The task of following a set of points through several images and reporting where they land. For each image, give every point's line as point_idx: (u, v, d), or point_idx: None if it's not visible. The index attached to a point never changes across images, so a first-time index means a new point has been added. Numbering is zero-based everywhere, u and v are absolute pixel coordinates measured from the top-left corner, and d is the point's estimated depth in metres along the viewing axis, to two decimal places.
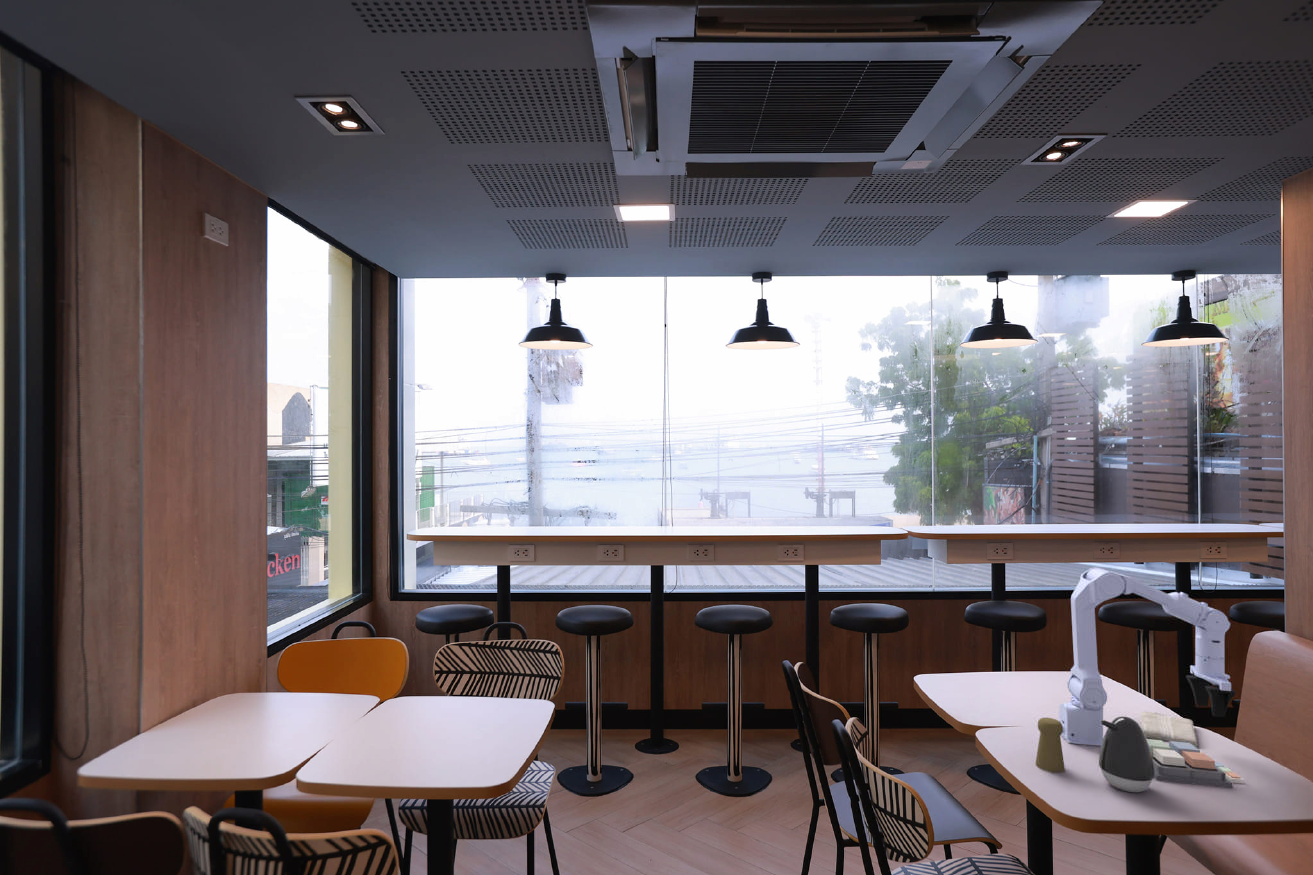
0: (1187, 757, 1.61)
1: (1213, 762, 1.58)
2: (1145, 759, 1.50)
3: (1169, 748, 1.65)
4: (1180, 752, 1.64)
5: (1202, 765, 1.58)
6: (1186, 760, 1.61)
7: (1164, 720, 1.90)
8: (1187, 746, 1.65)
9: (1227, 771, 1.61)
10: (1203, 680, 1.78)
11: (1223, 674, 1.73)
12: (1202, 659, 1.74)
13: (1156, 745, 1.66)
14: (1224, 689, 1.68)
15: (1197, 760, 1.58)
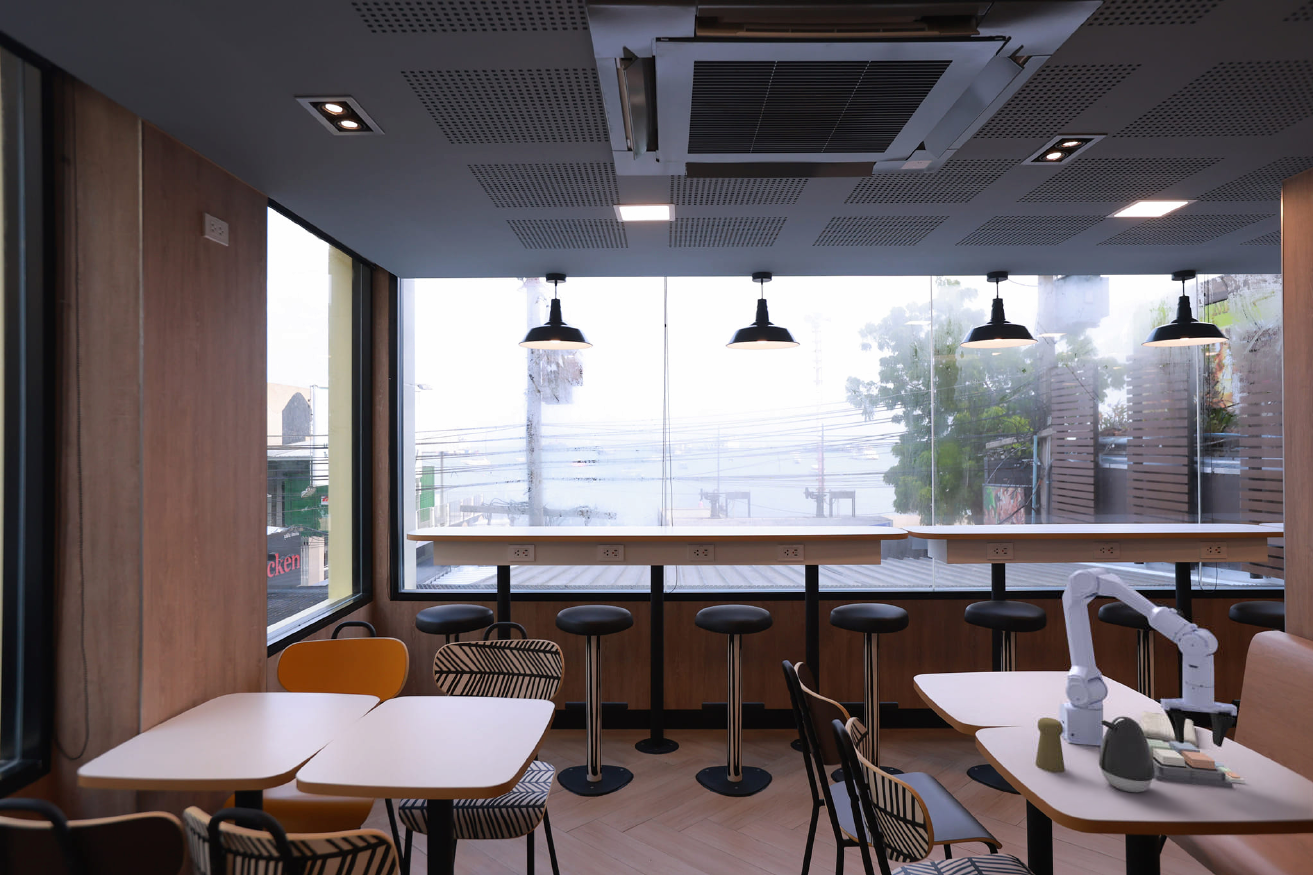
0: (1187, 757, 1.61)
1: (1213, 762, 1.58)
2: (1145, 759, 1.50)
3: (1169, 748, 1.65)
4: (1180, 752, 1.64)
5: (1202, 765, 1.58)
6: (1186, 760, 1.61)
7: (1164, 720, 1.90)
8: (1187, 746, 1.65)
9: (1227, 771, 1.61)
10: (1217, 716, 1.60)
11: (1193, 702, 1.59)
12: None
13: (1156, 745, 1.66)
14: (1162, 706, 1.63)
15: (1197, 760, 1.58)
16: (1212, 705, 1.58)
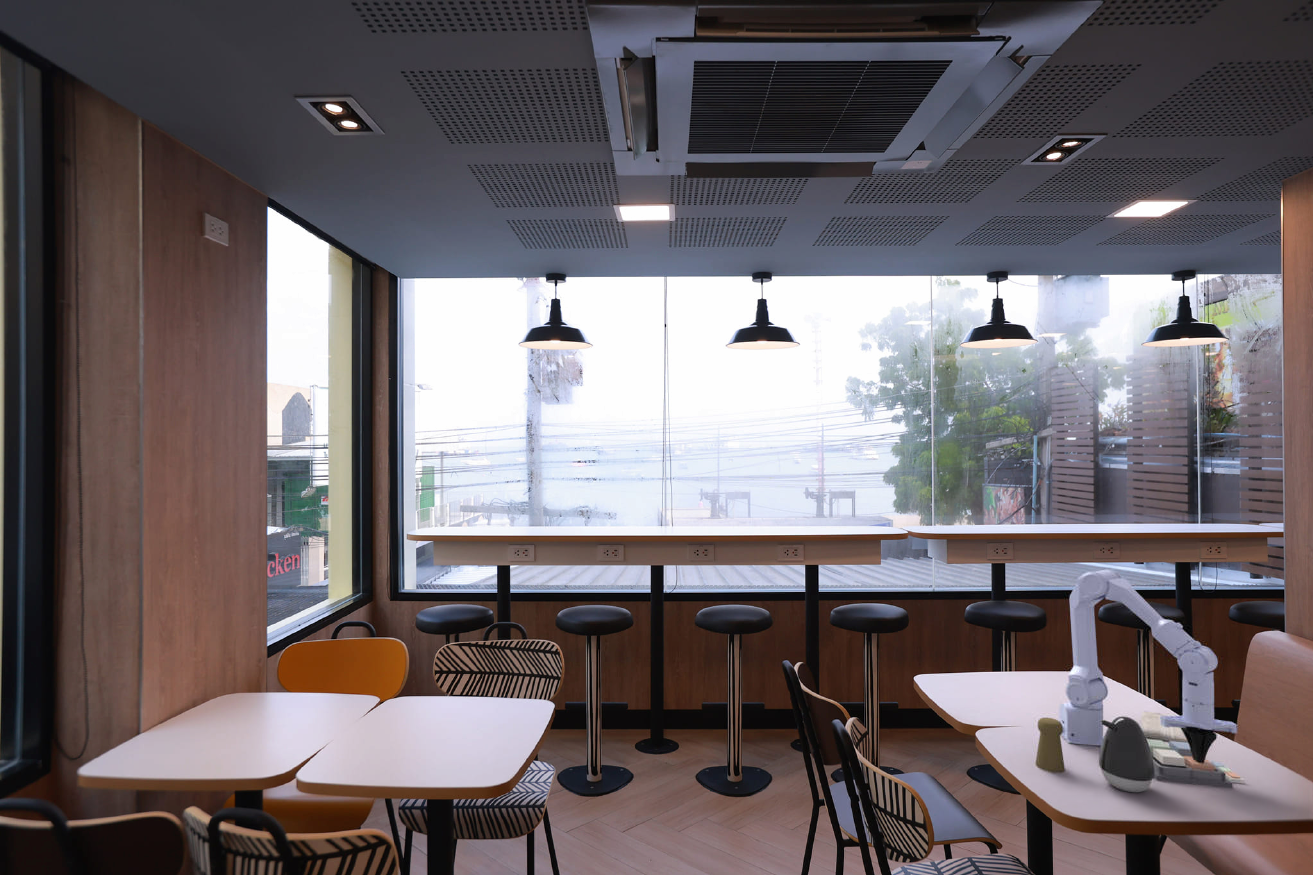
0: (1187, 761, 1.61)
1: (1213, 767, 1.58)
2: (1145, 759, 1.50)
3: (1169, 748, 1.65)
4: (1180, 752, 1.64)
5: None
6: None
7: None
8: (1187, 746, 1.65)
9: (1227, 771, 1.61)
10: None
11: (1193, 719, 1.59)
12: None
13: (1156, 745, 1.66)
14: (1161, 723, 1.62)
15: (1197, 764, 1.58)
16: (1212, 723, 1.58)
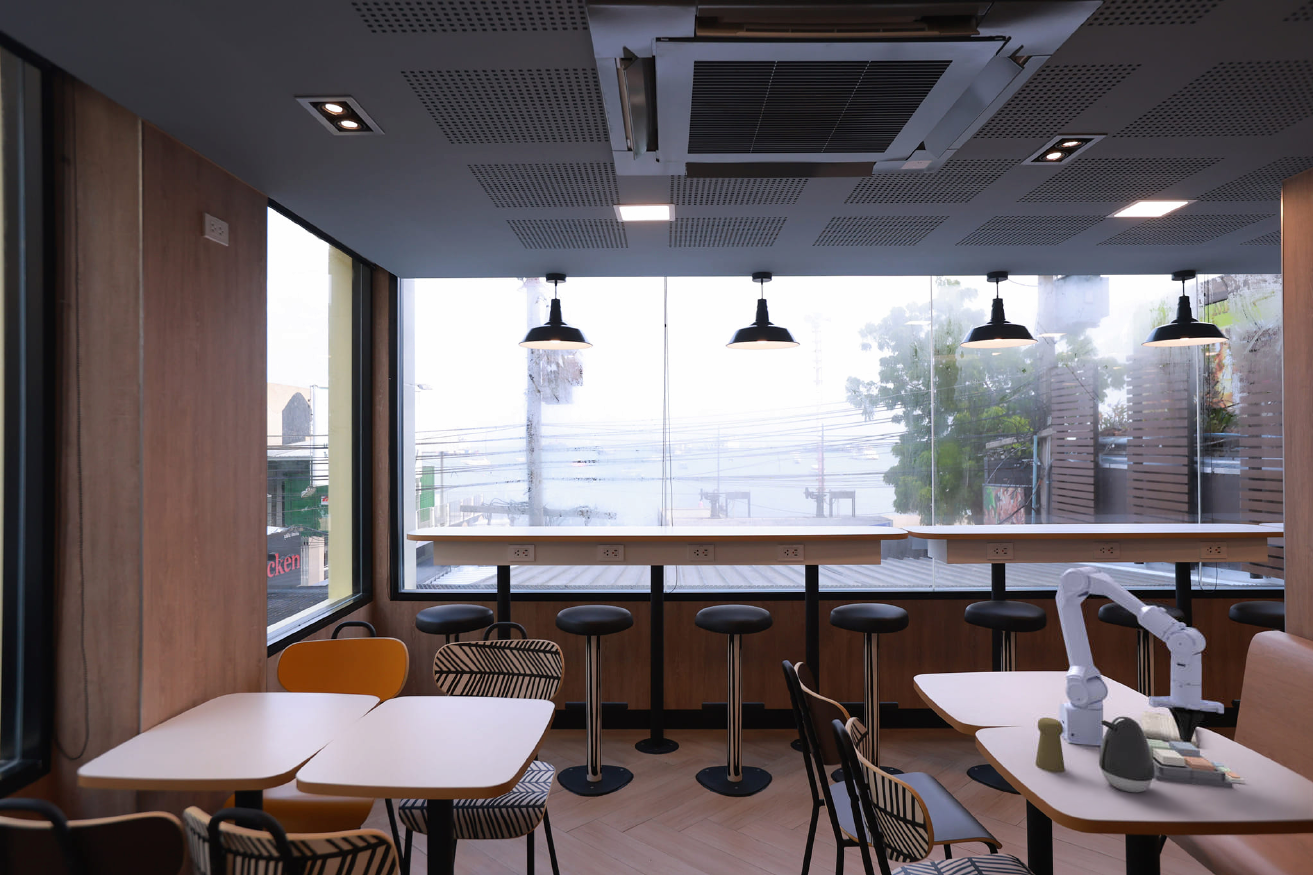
0: (1187, 762, 1.61)
1: (1213, 767, 1.58)
2: (1145, 759, 1.50)
3: (1169, 748, 1.65)
4: (1180, 752, 1.64)
5: None
6: None
7: (1165, 720, 1.90)
8: (1187, 746, 1.65)
9: (1227, 771, 1.61)
10: (1187, 713, 1.62)
11: (1180, 700, 1.61)
12: None
13: (1156, 745, 1.66)
14: (1150, 704, 1.65)
15: (1197, 765, 1.58)
16: (1199, 703, 1.60)
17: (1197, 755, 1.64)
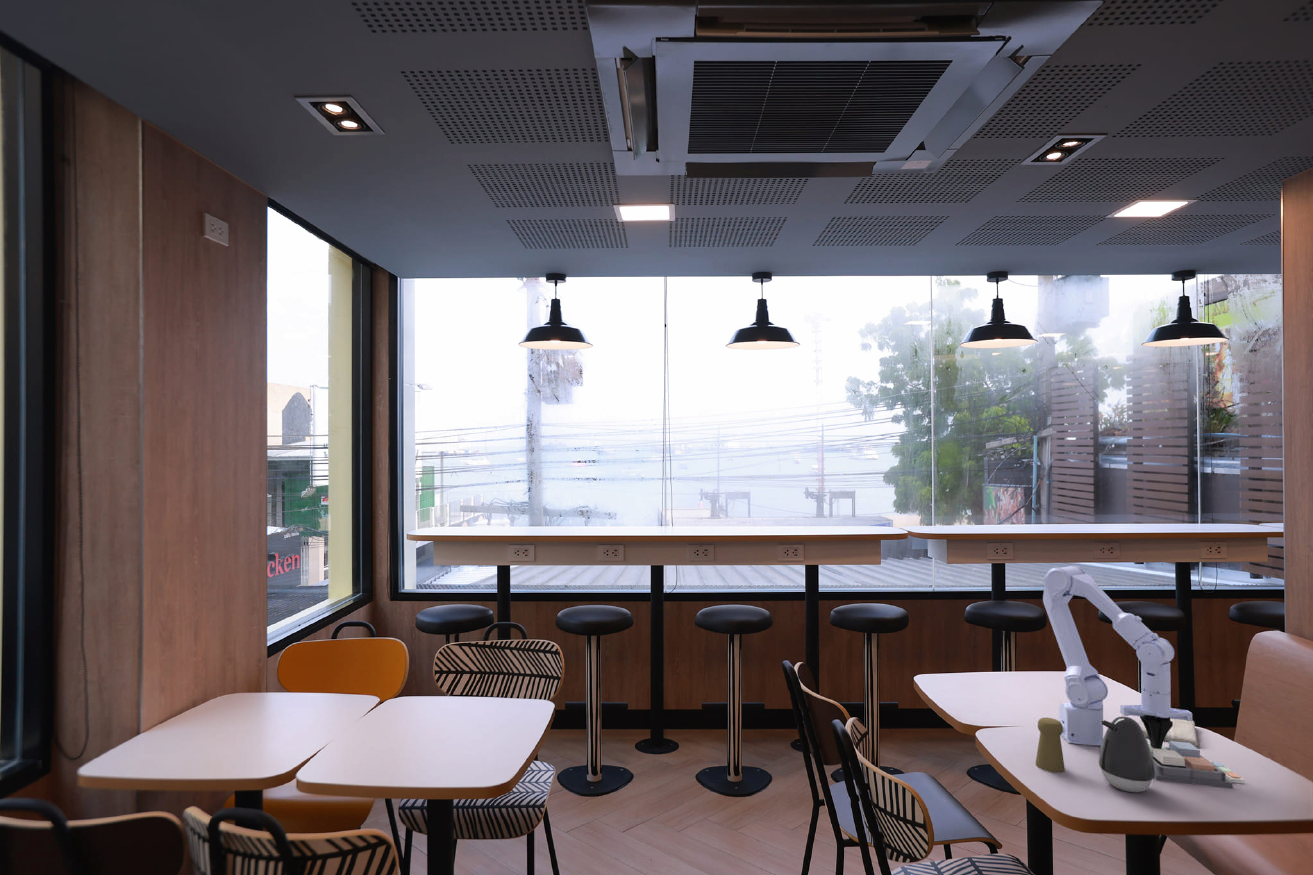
0: (1187, 762, 1.61)
1: (1213, 767, 1.58)
2: (1145, 759, 1.50)
3: None
4: (1180, 752, 1.64)
5: None
6: None
7: None
8: (1187, 746, 1.65)
9: (1227, 771, 1.61)
10: (1157, 721, 1.67)
11: (1150, 708, 1.66)
12: None
13: None
14: (1121, 712, 1.69)
15: (1197, 765, 1.58)
16: (1168, 711, 1.65)
17: (1197, 755, 1.64)
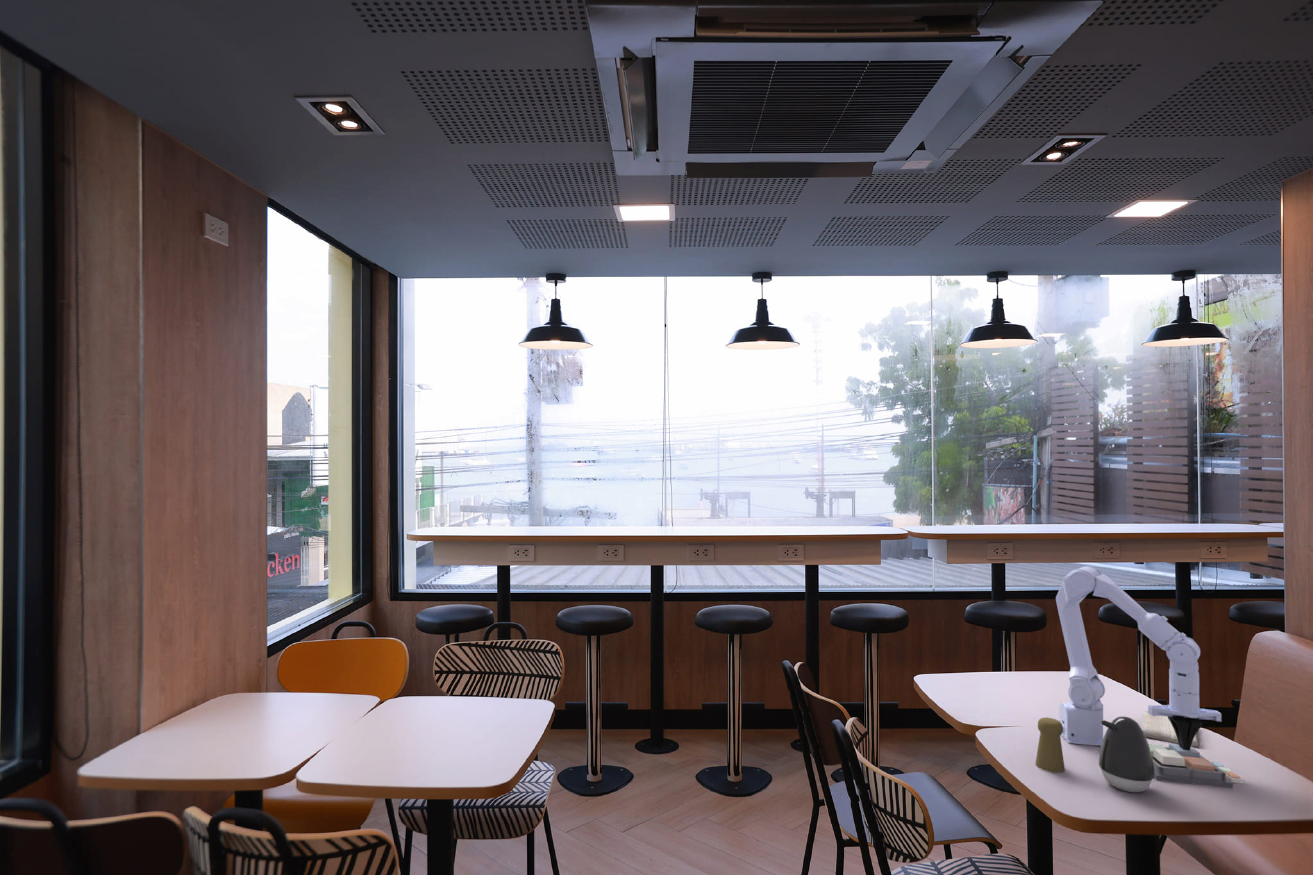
0: (1187, 762, 1.61)
1: (1213, 767, 1.58)
2: (1145, 759, 1.50)
3: None
4: None
5: None
6: None
7: (1166, 720, 1.90)
8: None
9: (1227, 771, 1.61)
10: None
11: (1179, 708, 1.65)
12: None
13: None
14: (1149, 712, 1.68)
15: (1197, 765, 1.58)
16: (1197, 711, 1.64)
17: (1197, 757, 1.64)
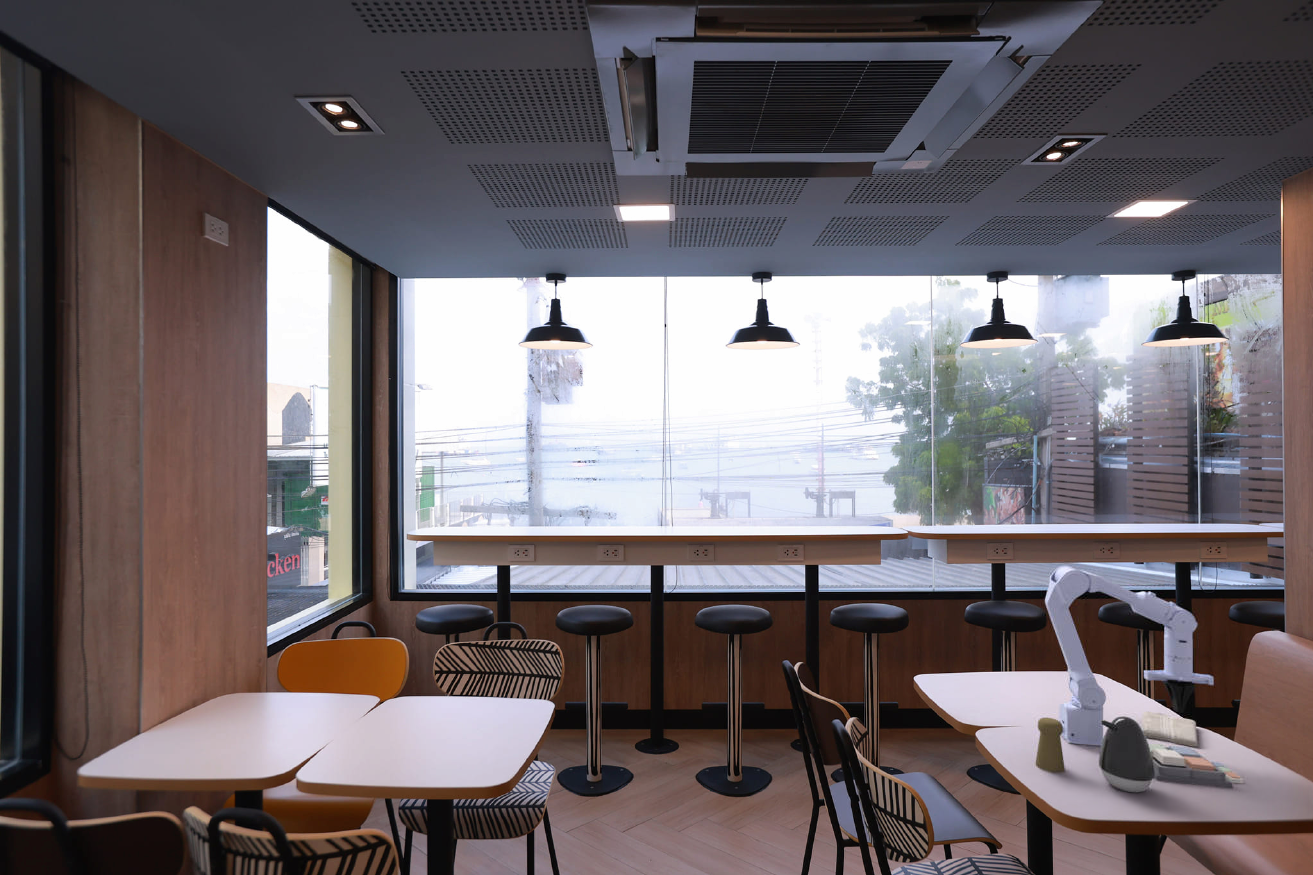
0: (1187, 762, 1.61)
1: (1213, 767, 1.58)
2: (1145, 759, 1.50)
3: None
4: None
5: None
6: None
7: (1166, 720, 1.90)
8: (1187, 751, 1.65)
9: (1227, 771, 1.61)
10: None
11: (1173, 673, 1.73)
12: None
13: None
14: (1145, 677, 1.77)
15: (1197, 765, 1.58)
16: (1191, 675, 1.72)
17: None
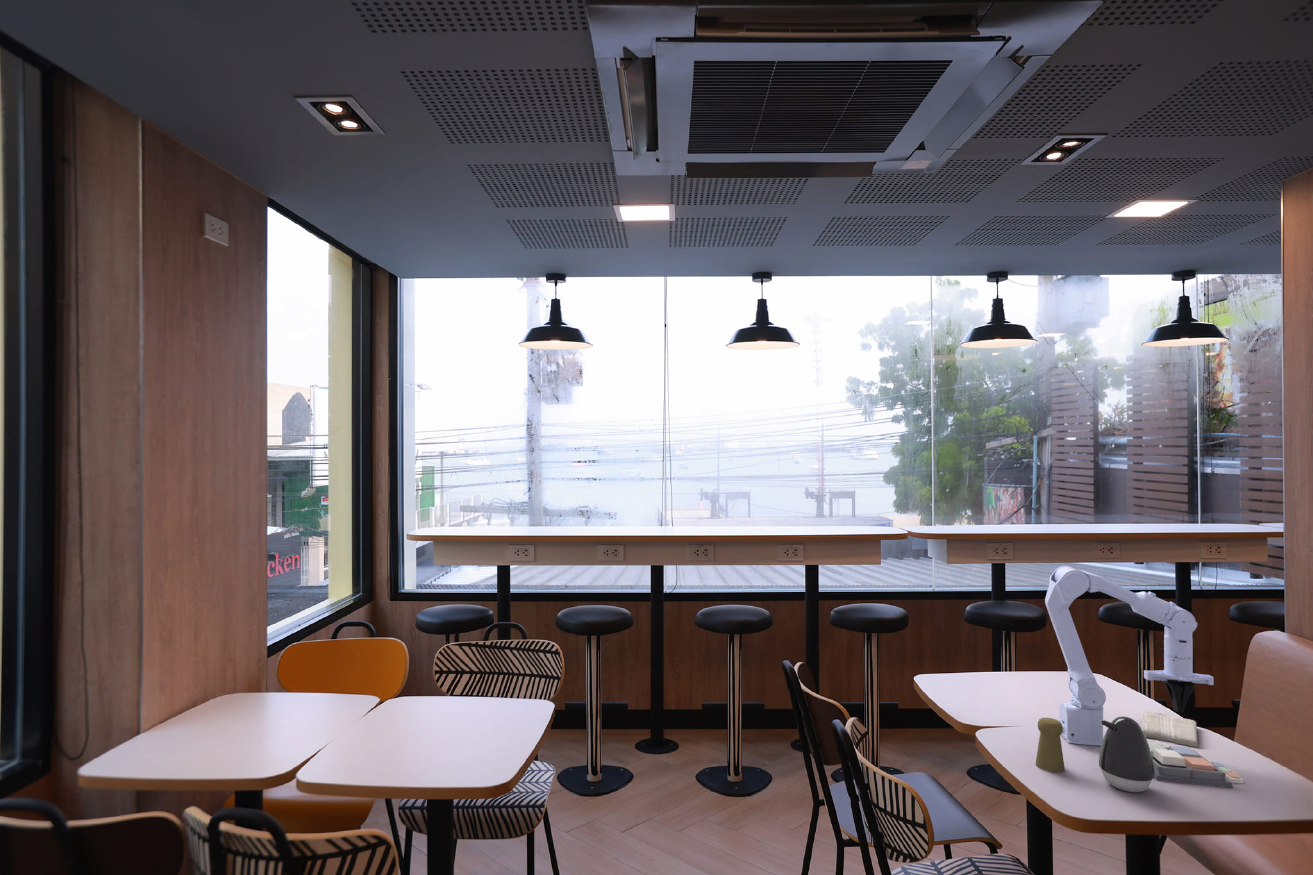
0: (1187, 762, 1.61)
1: (1213, 767, 1.58)
2: (1145, 759, 1.50)
3: None
4: None
5: None
6: None
7: (1167, 720, 1.90)
8: (1187, 751, 1.65)
9: (1227, 771, 1.61)
10: None
11: (1173, 673, 1.73)
12: None
13: None
14: (1145, 677, 1.77)
15: (1197, 765, 1.58)
16: (1191, 675, 1.72)
17: None
